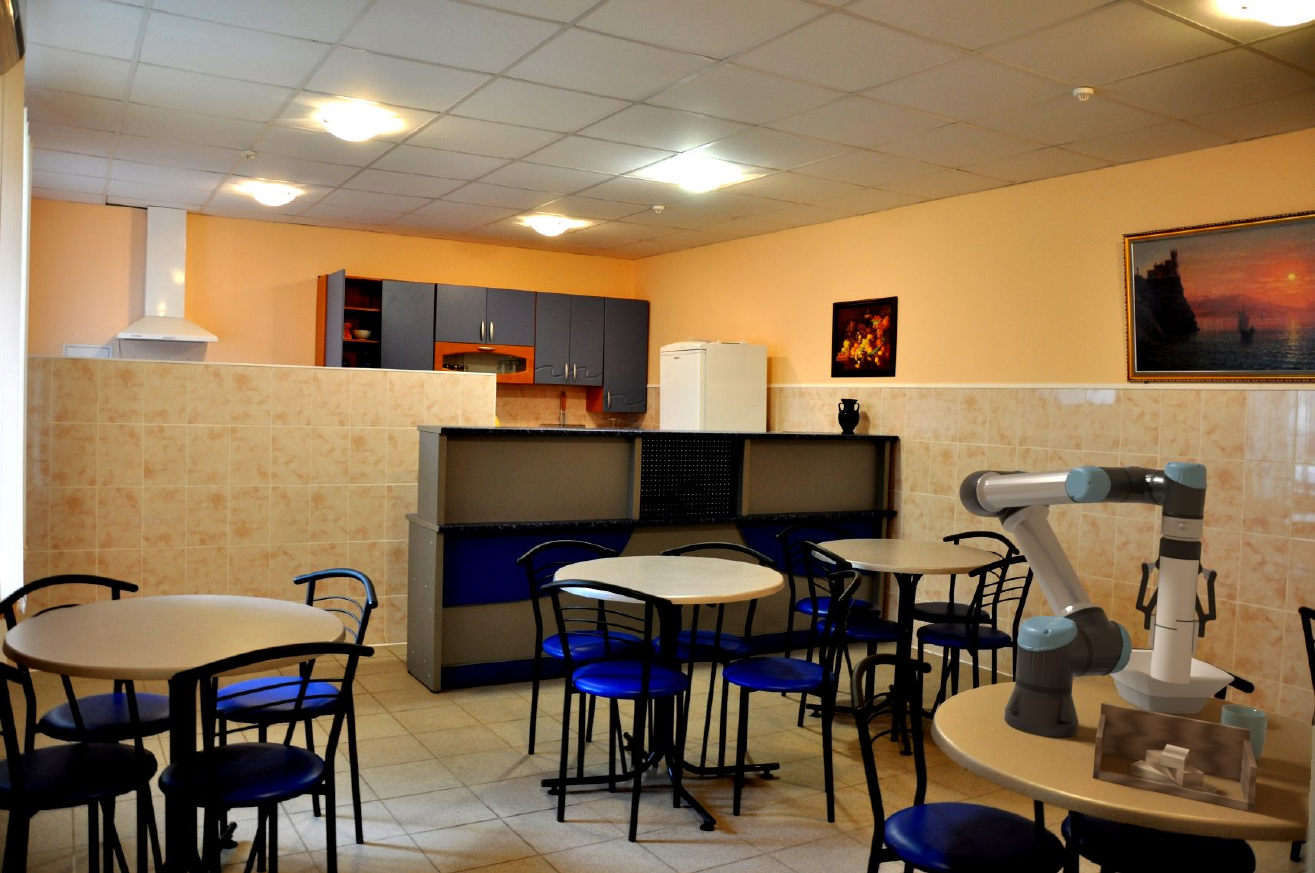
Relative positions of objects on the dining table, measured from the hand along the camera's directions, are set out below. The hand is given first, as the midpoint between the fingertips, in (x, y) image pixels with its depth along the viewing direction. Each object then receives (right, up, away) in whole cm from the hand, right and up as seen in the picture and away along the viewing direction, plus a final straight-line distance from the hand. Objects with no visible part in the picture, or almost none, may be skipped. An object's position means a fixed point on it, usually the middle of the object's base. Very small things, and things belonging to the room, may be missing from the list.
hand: (1172, 648), depth 195 cm
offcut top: (-8, -18, -16) cm, 25 cm away
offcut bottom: (-8, -23, -15) cm, 29 cm away
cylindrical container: (0, -6, 0) cm, 6 cm away
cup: (+14, -23, +1) cm, 27 cm away
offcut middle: (-8, -20, -15) cm, 26 cm away
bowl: (+16, -21, +35) cm, 44 cm away
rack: (-7, -22, -13) cm, 26 cm away
